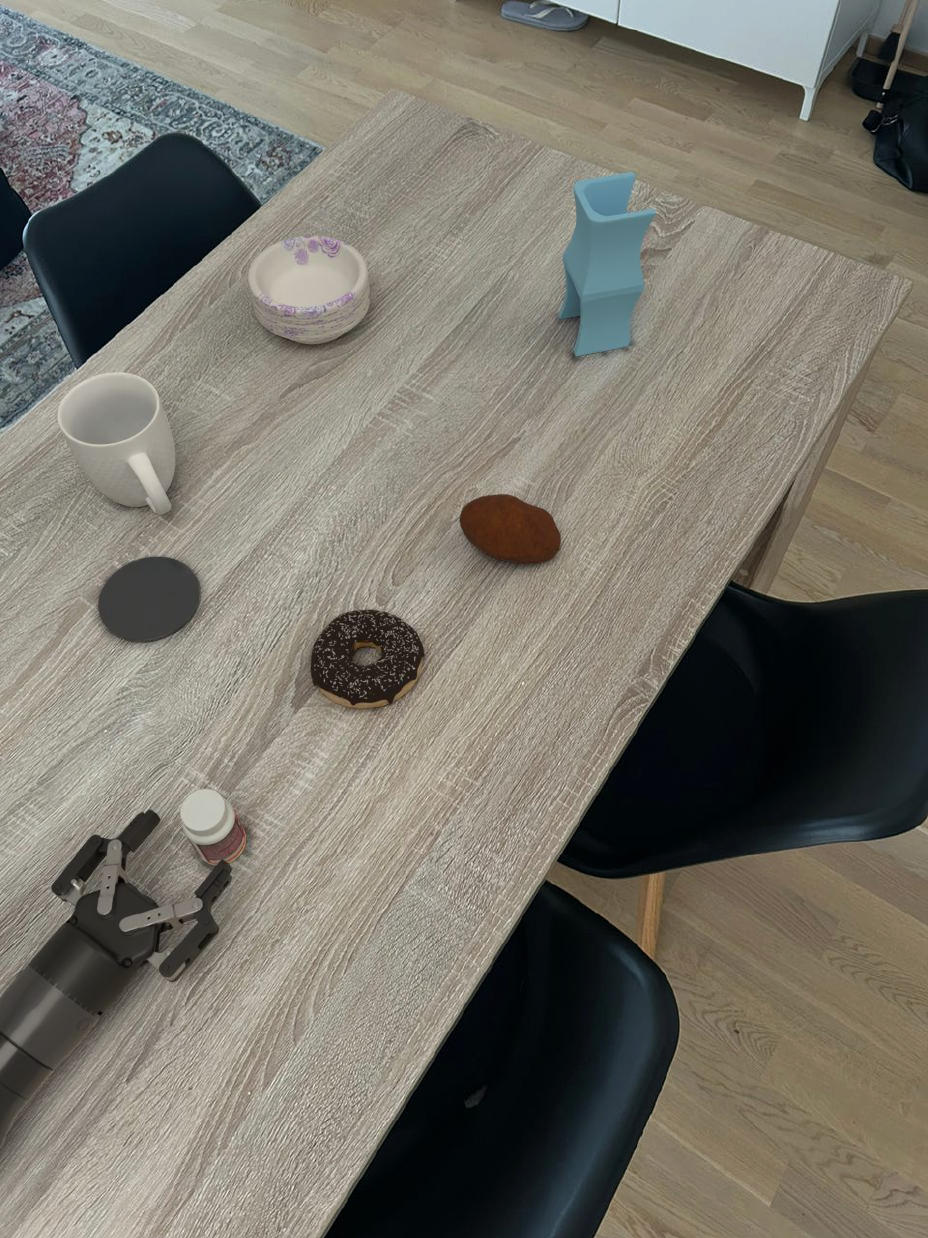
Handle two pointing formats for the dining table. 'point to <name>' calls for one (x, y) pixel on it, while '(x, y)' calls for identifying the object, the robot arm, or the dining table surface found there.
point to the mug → (121, 438)
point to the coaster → (149, 599)
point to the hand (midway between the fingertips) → (191, 839)
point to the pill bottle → (212, 826)
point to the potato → (510, 529)
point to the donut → (368, 681)
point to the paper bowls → (309, 288)
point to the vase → (604, 263)
